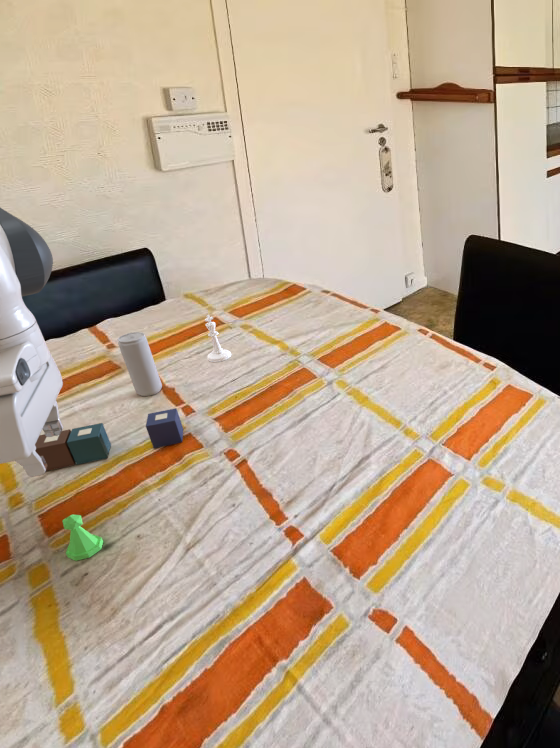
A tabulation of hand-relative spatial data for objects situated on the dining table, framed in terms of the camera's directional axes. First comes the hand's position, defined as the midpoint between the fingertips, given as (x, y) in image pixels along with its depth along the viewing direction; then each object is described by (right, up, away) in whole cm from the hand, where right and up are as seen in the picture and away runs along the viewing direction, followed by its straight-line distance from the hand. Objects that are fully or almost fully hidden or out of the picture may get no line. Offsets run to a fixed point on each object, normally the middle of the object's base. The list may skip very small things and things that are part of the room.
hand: (47, 452), depth 78 cm
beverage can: (-14, +7, +47) cm, 49 cm away
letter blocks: (-10, -3, +28) cm, 30 cm away
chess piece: (-6, +14, +60) cm, 62 cm away
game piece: (0, -14, +7) cm, 16 cm away
